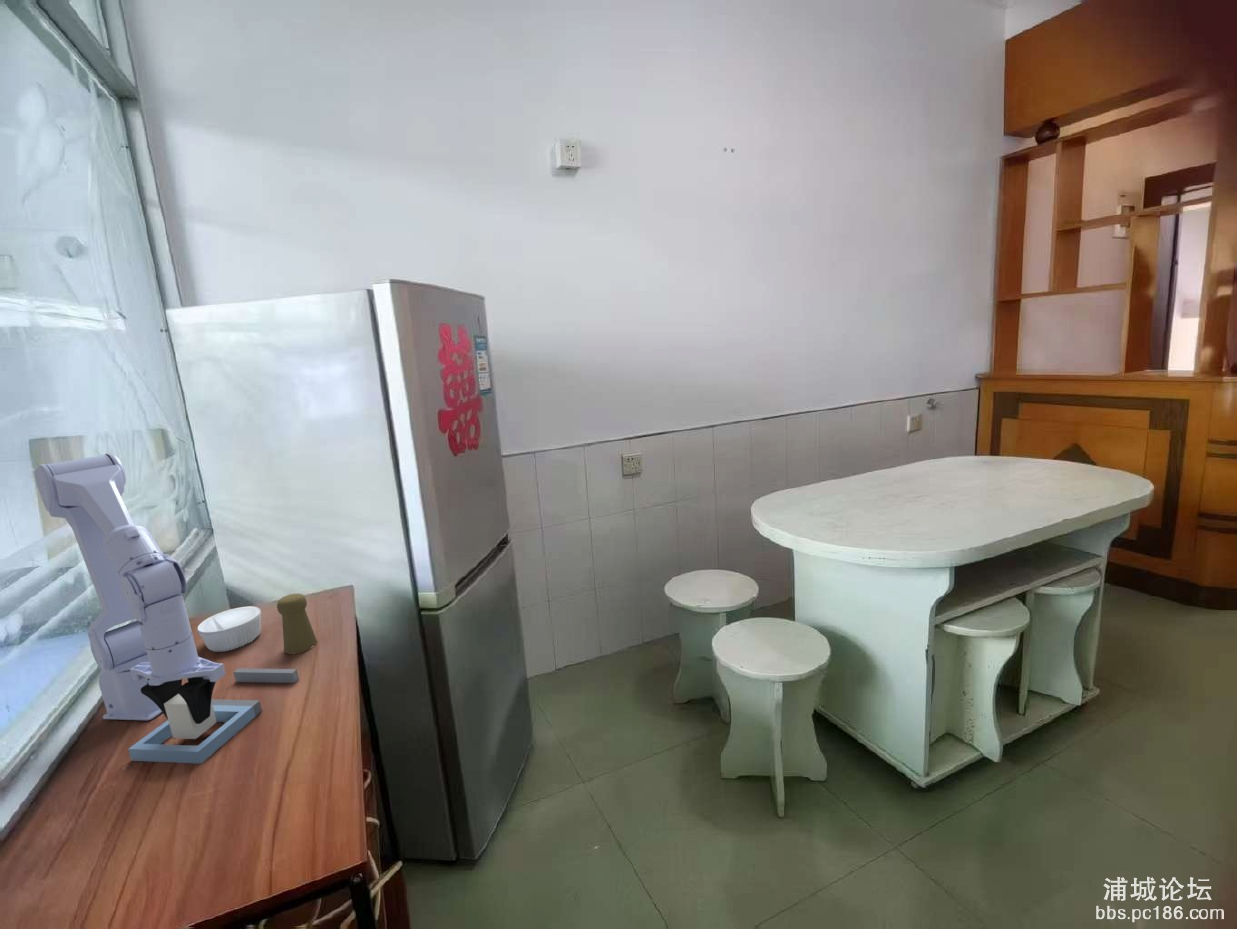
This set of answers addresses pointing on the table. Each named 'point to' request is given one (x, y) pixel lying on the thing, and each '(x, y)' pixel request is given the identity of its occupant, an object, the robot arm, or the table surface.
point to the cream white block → (185, 719)
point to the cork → (295, 624)
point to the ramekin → (231, 628)
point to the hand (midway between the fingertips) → (190, 719)
